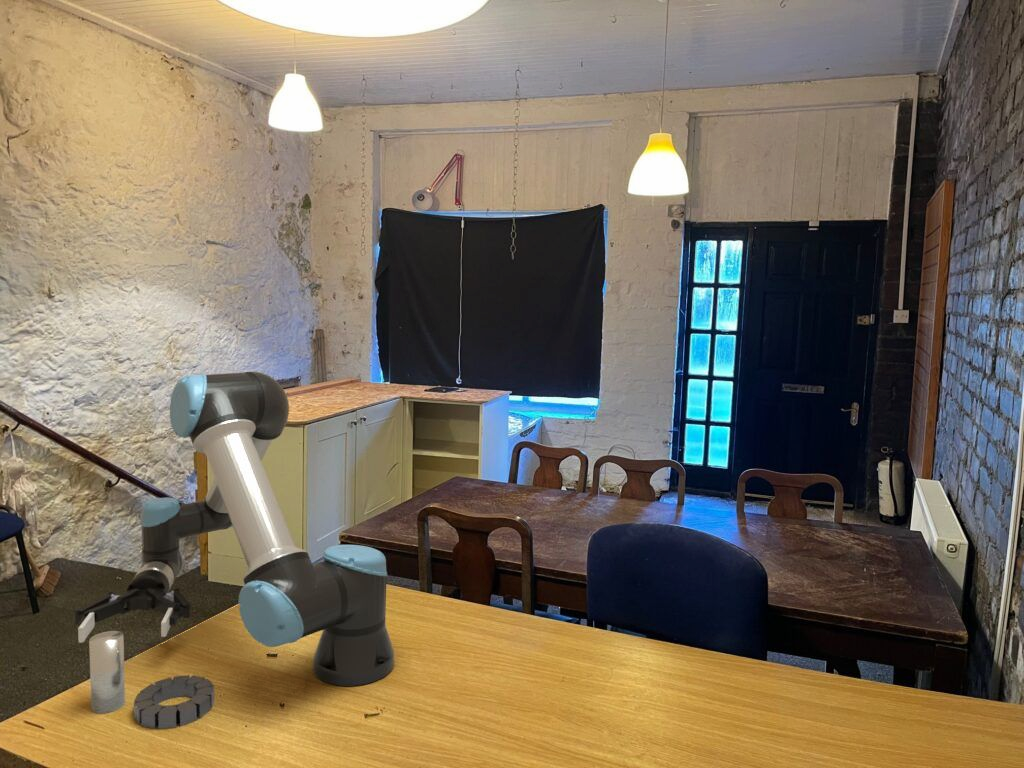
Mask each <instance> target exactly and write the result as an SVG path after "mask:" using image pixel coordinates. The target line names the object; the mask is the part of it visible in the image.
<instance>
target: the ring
mask: <svg viewBox="0 0 1024 768" xmlns="http://www.w3.org/2000/svg"><path fill="white" fill-rule="evenodd" d="M178 697H188V698H190V699H188V700H185V701H183V702H180V703H178V704H169V705H162V704H160V703H162V702H163V701H167V700H170V699H172V698H178ZM214 703H215V685H214V683H213V682H212V681H211V680H210V679H208V678H206V676H205V677H204V676H200V675H190V674H187V675H175V676H173V678H172V677H167V678H163V679H160V680H158V681H154V683H151V684H149V685H147V686H146V687H144V688H143V689H141V690H140V691H139V693H138V692H137V694H136V697H135V699H134V701H133V717H134V720H135V721H136V723H138V725H139V726H140V725H141V727H145V728H149V729H153V730H155V729H157V728H158V730H164V729H165V730H166V729H173V728H177V726H178V725H179V727H182V726H185V725H187V724H188V725H189V723H194V722H196V721H197V720H198V719H201V718H202V717H204V716H205V715H207V713H209V712H210V711H211V709H212V708H213V706H214Z"/></svg>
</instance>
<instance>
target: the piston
mask: <svg viewBox="0 0 1024 768" xmlns="http://www.w3.org/2000/svg"><path fill="white" fill-rule="evenodd" d="M124 640H125V638H124V633H123V632H122V631H118V630H110V631H109V630H108V631H107V630H106V631H104V632H100V633H97V634H95V635H93V636H91V637H90V638H89V640H88V642H89V644H88V647H89V648H88V649H89V675H90V677H89V680H90V702H91V703H90V709H91V711H92V712H93V713H95V714H109V713H112V712H114V711H117V710H119V709H121V708H123V706H124V705H125V703H126V684H125V683H126V682H125V681H126V680H125V679H126V678H125V643H124V642H125V641H124Z"/></svg>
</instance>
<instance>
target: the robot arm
mask: <svg viewBox="0 0 1024 768" xmlns="http://www.w3.org/2000/svg"><path fill="white" fill-rule="evenodd" d="M289 414H290V405H289V399H288V395H287V394H286V392H285V390H284V388H283V386H282V385H281V384H280V383H279V382H278V381H277V380H276V379H275V378H274V377H271V376H270V375H268V374H265V373H263V372H258V371H245V372H226V373H216V374H214V373H211V374H206V373H204V372H203V373H200V374H194V375H186V376H184V377H182V378H180V379H178V381H177V382H176V384H175V385H174V388H173V390H172V393H171V397H170V403H169V419H170V425H171V427H172V428H171V429H172V431H173V433H174V434H175V435H176V436H177V437H179V438H183V439H187V438H190V441H191V444H192V446H193V448H194V450H195V451H197V452H199V453H202V454H203V455H204V454H205V456H206V458H207V459H206V460H207V461H208V464H209V466H210V469H211V471H212V474H213V481H212V482H211V484H210V486H209V489H208V491H207V493H206V495H205V496H204V498H203V500H198V501H193V502H187V503H184V504H180V502H179V500H178V499H176V498H174V497H167V496H166V497H157V498H151V499H149V500H147V501H146V502H144V503H143V504H142V507H141V514H140V516H141V517H140V518H141V519H140V526H141V547H142V548H141V567H140V568H139V570H138V571H137V573H136V574H135V575H134V577H133V579H132V580H131V581H130V582H129V584H128V586H127V589H126V591H125V592H123V593H121V594H119V595H116V594H114V593H115V592H114V591H108V592H106V593H105V594H104V595H103V596H102V597H99V598H97V599H96V600H93V601H91V602H89V603H88V604H86V605H84V606H82V607H79V608H78V609H76V610H75V611H74V625H76V626H78V627H77V631H78V635H77V636H78V637H77V638H78V643H84V642H85V641H86V639H87V637H89V635H90V633H91V632H92V630H93V629H94V628H95V625H96V623H98V622H101V621H103V620H105V619H109V618H111V617H113V616H115V615H118V614H120V615H124V614H126V613H129V612H132V611H137V610H140V611H150V610H151V611H152V612H155V613H161V614H163V615H164V617H163V618H162V620H161V623H160V635H161V638H162V637H163V638H165V637H167V635H168V633H169V630H170V628H171V626H175V625H177V624H178V621H179V620H180V619H181V617H183V618H185V619H188V618H190V617H192V607H191V605H192V603H190V602H189V600H187V598H186V597H185V596H184V595H183V593H181V592H182V591H181V588H179V587H178V588H177V587H176V588H175V589H173V591H171V592H170V590H171V587H172V586H173V584H174V582H175V581H176V578H177V577H178V576H179V574H180V573H181V570H182V567H183V561H184V558H183V554H182V552H181V550H180V540H181V539H185V538H190V537H195V536H198V535H203V534H206V533H213V532H217V531H220V530H221V531H222V530H228V529H230V528H233V530H234V533H235V535H236V538H237V541H238V544H239V546H240V548H241V549H240V550H241V551H242V554H243V556H244V559H245V561H246V564H247V570H246V572H245V574H244V575H243V578H242V581H243V583H244V585H243V586H242V587H241V588H240V589H241V590H240V591H239V595H238V602H237V603H238V604H239V606H240V607H239V608H238V611H239V614H240V618H241V620H242V623H243V625H244V628H245V630H246V631H247V632H248V633H249V635H250V636H251V637H252V638H253V639H254V641H256V642H258V643H259V644H261V645H263V646H265V647H267V648H276V647H279V646H282V645H288V644H292V643H295V642H297V641H298V640H300V639H302V638H304V637H308V636H309V635H312V634H315V633H318V632H321V631H322V632H321V635H320V638H319V641H318V643H317V647H316V649H315V652H314V656H313V673H314V675H315V676H316V678H318V680H320V681H322V682H324V683H327V684H330V685H334V686H341V687H343V686H344V687H352V686H362V685H366V684H371V683H374V682H377V681H378V680H381V679H383V678H385V677H386V676H388V675H389V673H390V672H391V671H392V670H393V669H394V665H395V650H394V648H393V645H392V641H391V639H390V635H389V631H388V629H387V625H386V615H387V613H386V611H387V608H386V607H387V605H386V604H387V603H386V602H387V578H388V577H387V576H388V571H387V559H386V555H384V553H383V552H382V551H380V550H378V549H376V548H373V547H370V546H365V545H358V544H339V545H337V544H336V545H332V546H328V547H327V548H326V549H325V550H324V551H323V555H322V558H323V561H320V562H317V563H312V560H311V558H310V555H309V552H308V551H307V550H305V549H302V548H300V547H297V546H296V544H295V543H294V539H293V537H292V535H291V532H290V529H289V528H288V525H287V522H286V520H285V517H284V515H283V512H282V510H281V508H280V505H279V502H278V500H277V498H276V495H275V493H274V490H273V488H272V485H271V483H270V480H269V478H268V476H267V473H266V470H265V468H264V465H263V463H262V461H263V459H264V456H265V455H266V453H267V451H268V449H269V447H270V446H271V444H272V442H273V441H274V440H276V439H278V438H279V437H281V435H282V433H283V431H284V429H285V427H286V425H287V423H288V420H289Z"/></svg>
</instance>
